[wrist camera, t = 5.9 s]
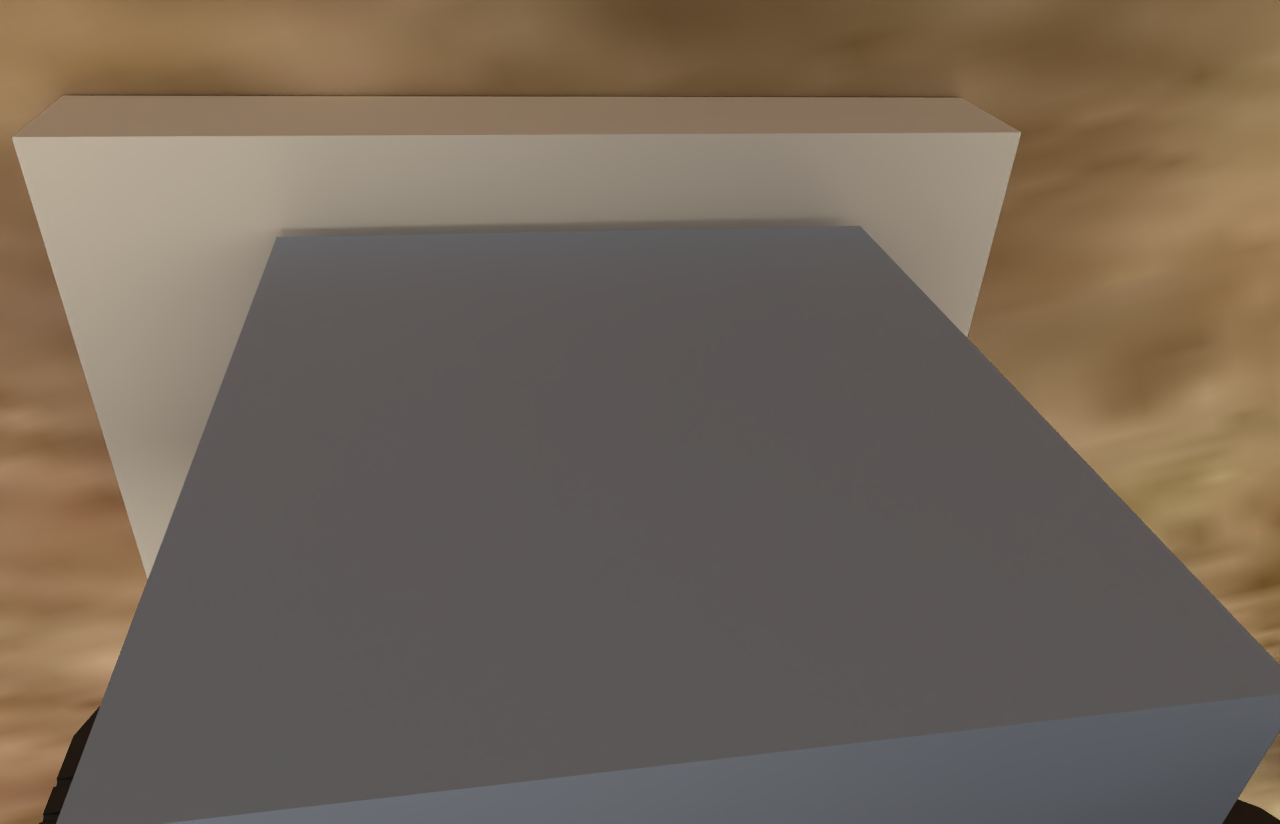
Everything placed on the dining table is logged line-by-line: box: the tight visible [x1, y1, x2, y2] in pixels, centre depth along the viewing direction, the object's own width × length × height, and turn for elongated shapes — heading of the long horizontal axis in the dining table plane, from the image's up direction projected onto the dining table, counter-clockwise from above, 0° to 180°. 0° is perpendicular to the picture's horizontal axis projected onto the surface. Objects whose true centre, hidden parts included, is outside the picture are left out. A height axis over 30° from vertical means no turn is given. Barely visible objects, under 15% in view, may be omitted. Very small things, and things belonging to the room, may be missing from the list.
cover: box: [56, 226, 1280, 824], centre depth 12 cm, size 8×8×9 cm
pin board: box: [12, 96, 1021, 579], centre depth 17 cm, size 20×14×9 cm
